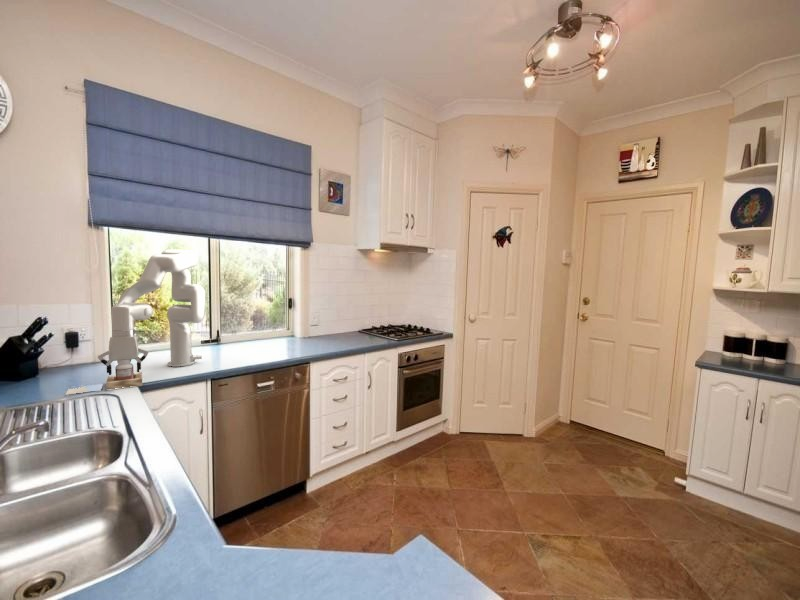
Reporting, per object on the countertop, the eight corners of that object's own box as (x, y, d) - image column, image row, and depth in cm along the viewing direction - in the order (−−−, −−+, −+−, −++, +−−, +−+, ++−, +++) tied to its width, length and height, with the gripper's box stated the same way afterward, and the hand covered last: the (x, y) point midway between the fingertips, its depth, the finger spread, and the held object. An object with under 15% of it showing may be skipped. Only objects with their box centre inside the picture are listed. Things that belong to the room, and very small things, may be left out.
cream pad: (103, 383, 156) (103, 382, 156) (101, 390, 147) (101, 389, 147) (69, 388, 150) (69, 387, 150) (65, 395, 141) (65, 394, 141)
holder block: (142, 378, 165) (141, 372, 164) (142, 385, 155) (141, 378, 155) (108, 382, 158) (108, 376, 157) (106, 390, 148) (105, 383, 148)
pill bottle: (122, 382, 159) (121, 357, 158) (137, 382, 160) (136, 357, 159) (112, 386, 153) (111, 360, 152) (128, 386, 153) (127, 360, 153)
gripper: (147, 330, 163) (148, 368, 164) (97, 333, 153) (99, 373, 154) (148, 333, 157) (148, 372, 158) (96, 336, 146) (97, 378, 148)
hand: (124, 372), depth 156 cm, fingers open, 9 cm apart
